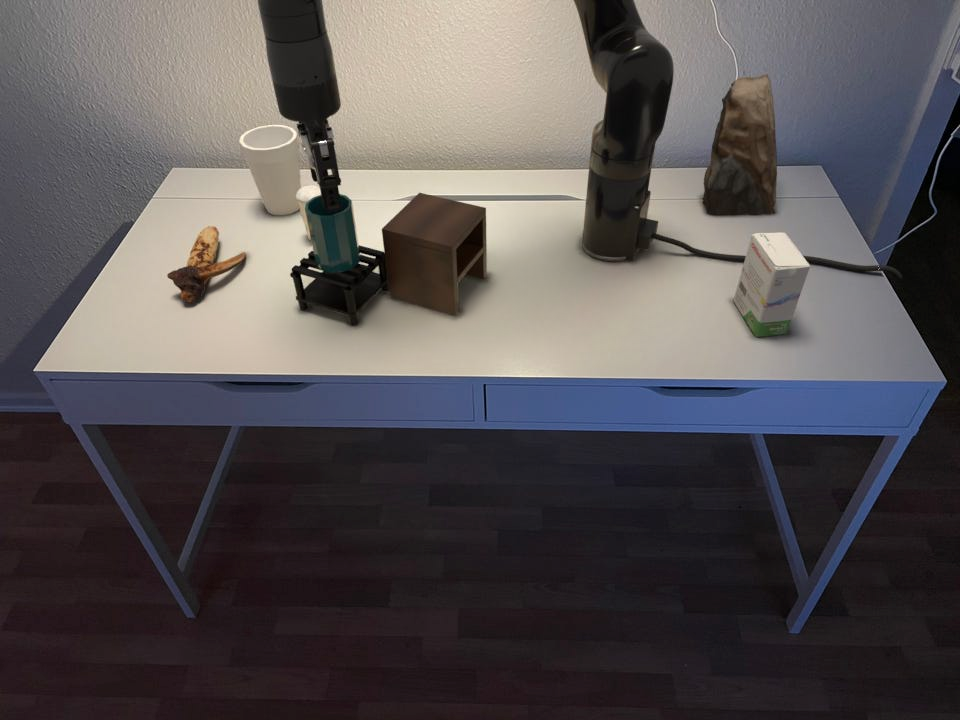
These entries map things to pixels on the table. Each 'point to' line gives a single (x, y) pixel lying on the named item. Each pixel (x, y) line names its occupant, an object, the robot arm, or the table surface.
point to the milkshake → (303, 197)
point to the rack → (342, 284)
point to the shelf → (434, 251)
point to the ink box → (770, 283)
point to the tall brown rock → (743, 152)
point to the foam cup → (274, 165)
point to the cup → (333, 235)
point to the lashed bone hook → (202, 265)
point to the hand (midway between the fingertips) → (326, 194)
